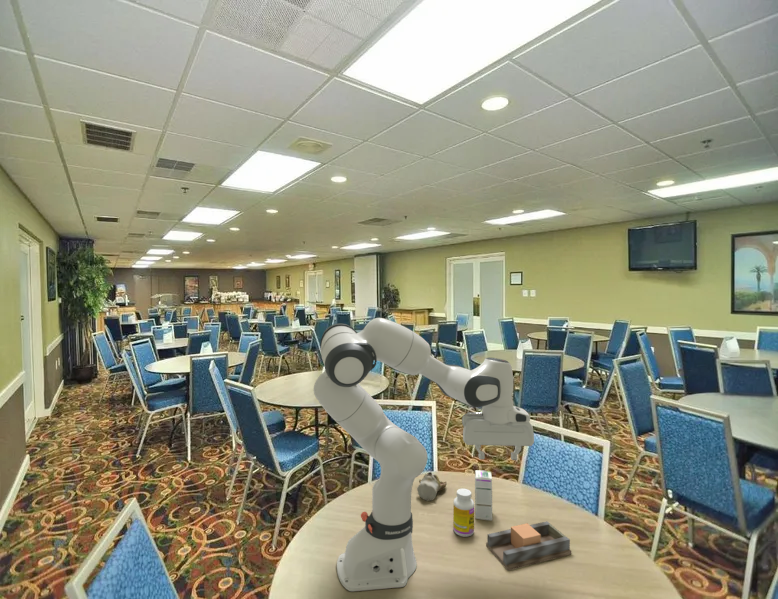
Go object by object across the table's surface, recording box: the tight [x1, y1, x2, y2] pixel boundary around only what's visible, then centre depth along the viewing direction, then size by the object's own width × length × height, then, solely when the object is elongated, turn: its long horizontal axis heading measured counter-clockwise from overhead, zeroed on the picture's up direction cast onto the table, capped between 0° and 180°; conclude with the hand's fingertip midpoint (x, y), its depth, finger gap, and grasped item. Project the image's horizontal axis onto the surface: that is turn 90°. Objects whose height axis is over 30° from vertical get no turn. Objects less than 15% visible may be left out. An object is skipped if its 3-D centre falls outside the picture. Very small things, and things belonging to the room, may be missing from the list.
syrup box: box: [474, 469, 493, 521], centre depth 134 cm, size 6×6×14 cm
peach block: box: [510, 522, 541, 548], centre depth 116 cm, size 6×6×5 cm
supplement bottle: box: [452, 488, 475, 538], centre depth 125 cm, size 7×7×13 cm
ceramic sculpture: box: [416, 472, 447, 501], centre depth 148 cm, size 11×9×15 cm
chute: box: [485, 520, 572, 571], centre depth 116 cm, size 22×11×4 cm, turn 108°
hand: (497, 459), depth 114 cm, fingers open, 8 cm apart
